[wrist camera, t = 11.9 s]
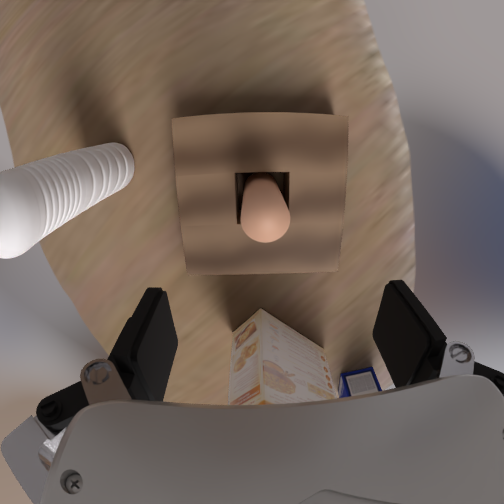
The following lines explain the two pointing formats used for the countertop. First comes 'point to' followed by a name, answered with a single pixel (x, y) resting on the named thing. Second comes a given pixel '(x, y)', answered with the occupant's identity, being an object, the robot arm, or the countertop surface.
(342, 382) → the milk carton
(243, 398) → the coffeecake box
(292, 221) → the socket block
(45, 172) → the water bottle
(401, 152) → the countertop surface
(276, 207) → the peg
